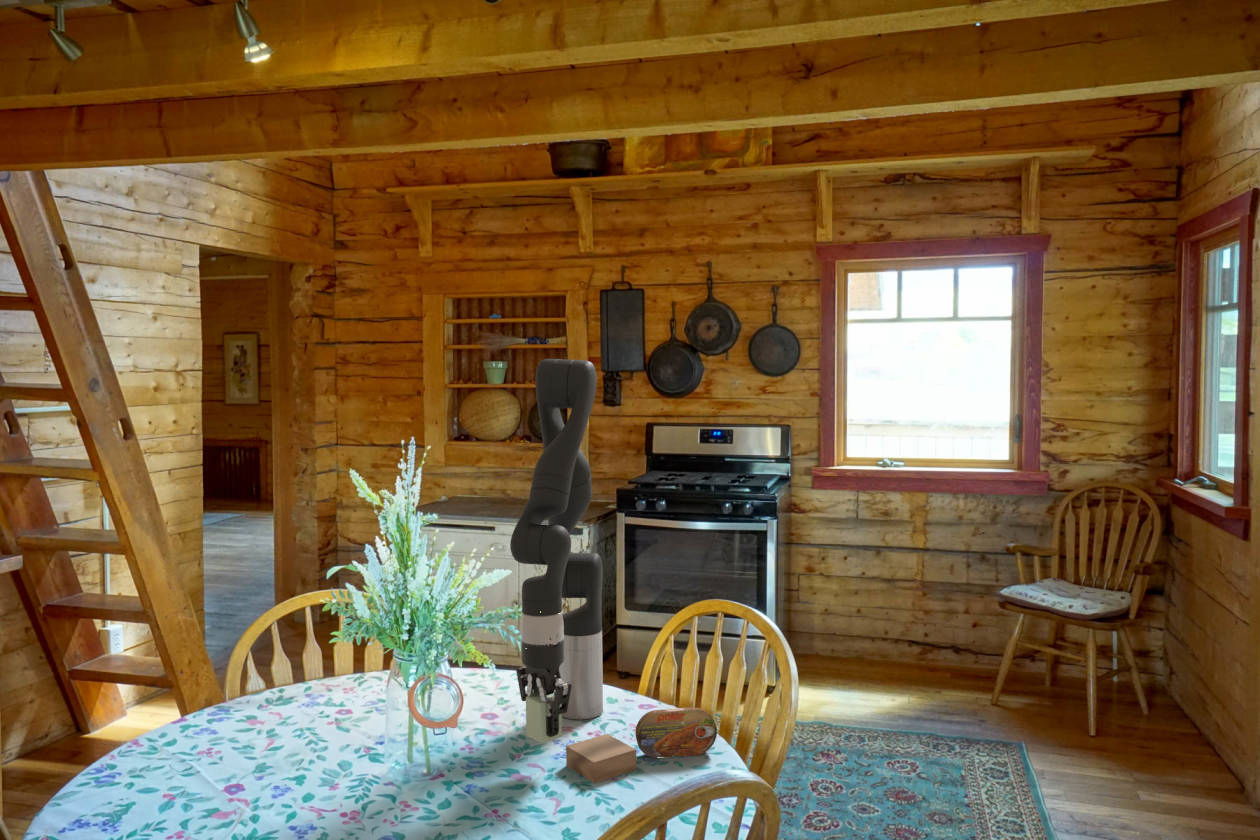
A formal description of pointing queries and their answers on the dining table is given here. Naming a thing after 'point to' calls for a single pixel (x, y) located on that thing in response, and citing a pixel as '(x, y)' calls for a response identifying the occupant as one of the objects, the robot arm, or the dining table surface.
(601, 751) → the walnut base
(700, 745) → the tin
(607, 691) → the dining table surface
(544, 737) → the sage block
